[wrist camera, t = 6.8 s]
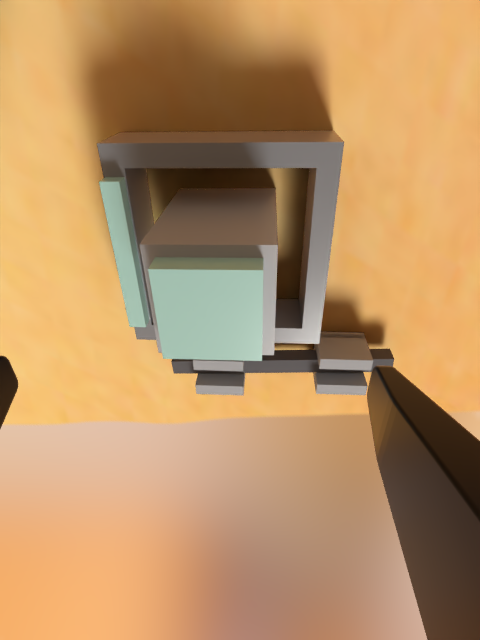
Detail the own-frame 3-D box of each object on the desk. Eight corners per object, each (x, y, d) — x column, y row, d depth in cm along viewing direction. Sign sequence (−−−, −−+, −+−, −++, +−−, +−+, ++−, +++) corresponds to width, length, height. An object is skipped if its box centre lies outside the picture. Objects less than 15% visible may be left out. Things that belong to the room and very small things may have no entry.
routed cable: (390, 333, 19) (402, 361, 18) (380, 370, 21) (391, 400, 19) (174, 328, 20) (164, 354, 18) (179, 364, 22) (170, 392, 20)
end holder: (333, 130, 15) (347, 145, 12) (313, 313, 19) (320, 352, 17) (120, 132, 15) (90, 146, 12) (150, 309, 20) (133, 347, 17)
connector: (275, 187, 16) (278, 256, 10) (272, 274, 18) (274, 370, 12) (179, 188, 16) (131, 255, 11) (188, 274, 18) (152, 367, 13)
